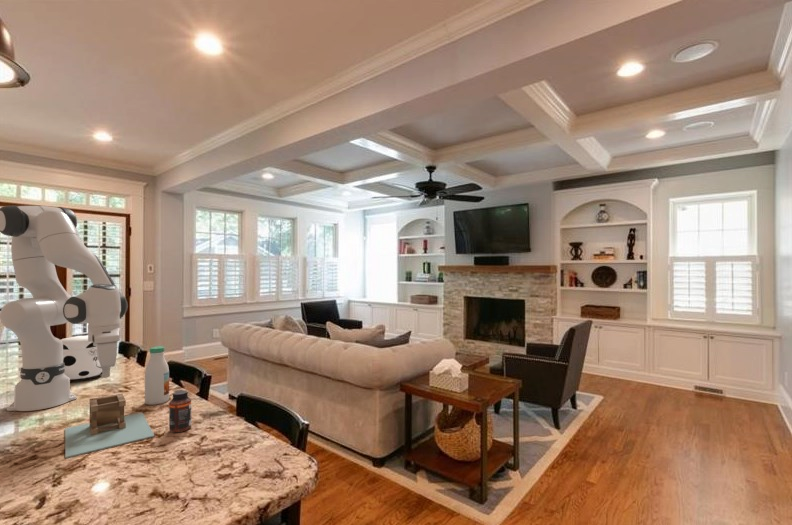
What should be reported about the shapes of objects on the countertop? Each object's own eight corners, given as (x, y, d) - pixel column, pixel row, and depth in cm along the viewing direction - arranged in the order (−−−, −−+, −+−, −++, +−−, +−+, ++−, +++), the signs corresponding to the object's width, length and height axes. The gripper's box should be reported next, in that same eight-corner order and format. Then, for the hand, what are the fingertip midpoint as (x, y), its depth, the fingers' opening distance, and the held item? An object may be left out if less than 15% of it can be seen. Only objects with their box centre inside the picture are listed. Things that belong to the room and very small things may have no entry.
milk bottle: (157, 406, 141) (157, 350, 141) (139, 404, 143) (139, 349, 143) (174, 399, 149) (174, 345, 149) (156, 397, 150) (156, 345, 150)
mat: (65, 429, 121) (65, 428, 121) (142, 413, 134) (142, 412, 134) (65, 458, 103) (65, 456, 103) (154, 436, 116) (154, 435, 116)
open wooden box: (89, 426, 122) (89, 399, 122) (122, 419, 128) (122, 393, 128) (91, 435, 116) (91, 406, 116) (125, 427, 121) (125, 400, 121)
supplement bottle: (195, 426, 123) (195, 390, 123) (179, 434, 117) (179, 396, 117) (181, 424, 125) (181, 388, 125) (164, 431, 119) (164, 394, 119)
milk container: (113, 376, 180) (112, 336, 180) (65, 386, 165) (65, 343, 165) (96, 371, 189) (96, 333, 189) (50, 380, 174) (50, 339, 175)
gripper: (91, 331, 135) (92, 372, 135) (94, 339, 119) (95, 385, 119) (113, 329, 139) (114, 368, 139) (120, 336, 123) (121, 380, 123)
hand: (106, 376), depth 129 cm, fingers closed
